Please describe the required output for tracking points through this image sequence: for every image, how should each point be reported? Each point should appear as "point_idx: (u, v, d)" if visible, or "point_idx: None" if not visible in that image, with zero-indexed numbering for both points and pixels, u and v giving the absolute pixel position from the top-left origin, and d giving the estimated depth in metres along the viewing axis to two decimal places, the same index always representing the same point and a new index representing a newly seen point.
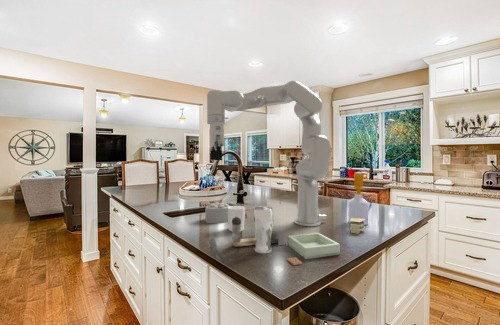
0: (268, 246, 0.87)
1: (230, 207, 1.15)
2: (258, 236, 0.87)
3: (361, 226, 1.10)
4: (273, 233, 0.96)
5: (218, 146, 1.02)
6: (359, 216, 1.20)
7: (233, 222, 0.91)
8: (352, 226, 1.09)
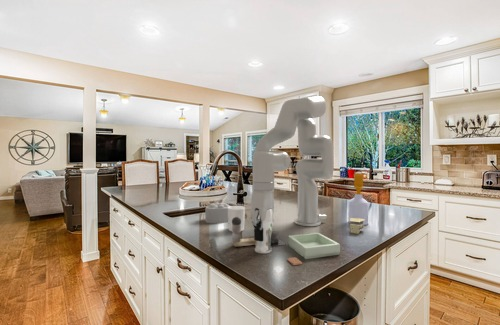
0: (268, 246, 0.87)
1: (230, 207, 1.15)
2: None
3: (361, 226, 1.10)
4: (273, 233, 0.96)
5: None
6: (359, 216, 1.20)
7: (233, 222, 0.91)
8: (352, 226, 1.09)
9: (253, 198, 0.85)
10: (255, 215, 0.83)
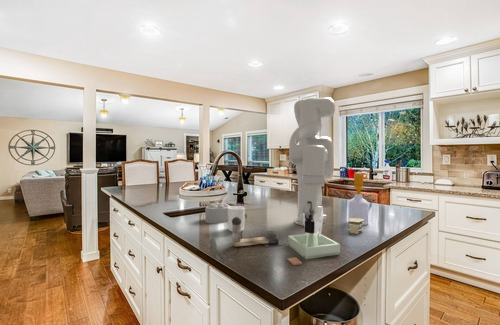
0: (319, 242, 0.88)
1: (230, 207, 1.15)
2: (309, 233, 0.88)
3: (360, 226, 1.10)
4: (273, 233, 0.96)
5: None
6: (359, 216, 1.20)
7: (233, 222, 0.91)
8: (351, 226, 1.09)
9: (305, 191, 0.85)
10: (308, 206, 0.83)
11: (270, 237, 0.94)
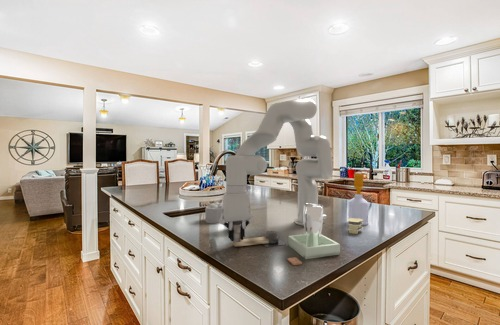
0: (319, 242, 0.88)
1: None
2: (309, 233, 0.88)
3: (359, 226, 1.10)
4: (273, 233, 0.96)
5: None
6: (359, 216, 1.20)
7: (233, 222, 0.91)
8: (350, 226, 1.08)
9: None
10: (221, 216, 0.90)
11: (270, 237, 0.94)
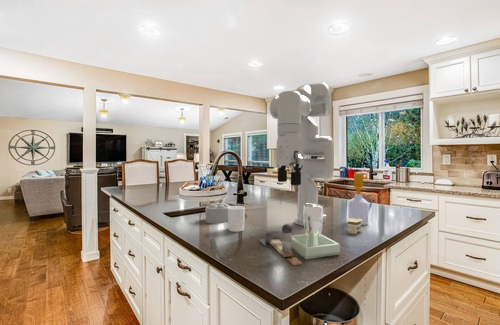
0: (319, 242, 0.88)
1: (230, 207, 1.15)
2: (309, 233, 0.88)
3: (358, 226, 1.10)
4: (274, 232, 0.97)
5: None
6: (359, 216, 1.20)
7: (291, 230, 0.82)
8: (349, 226, 1.08)
9: (291, 140, 0.77)
10: (299, 154, 0.76)
11: (278, 236, 0.96)
